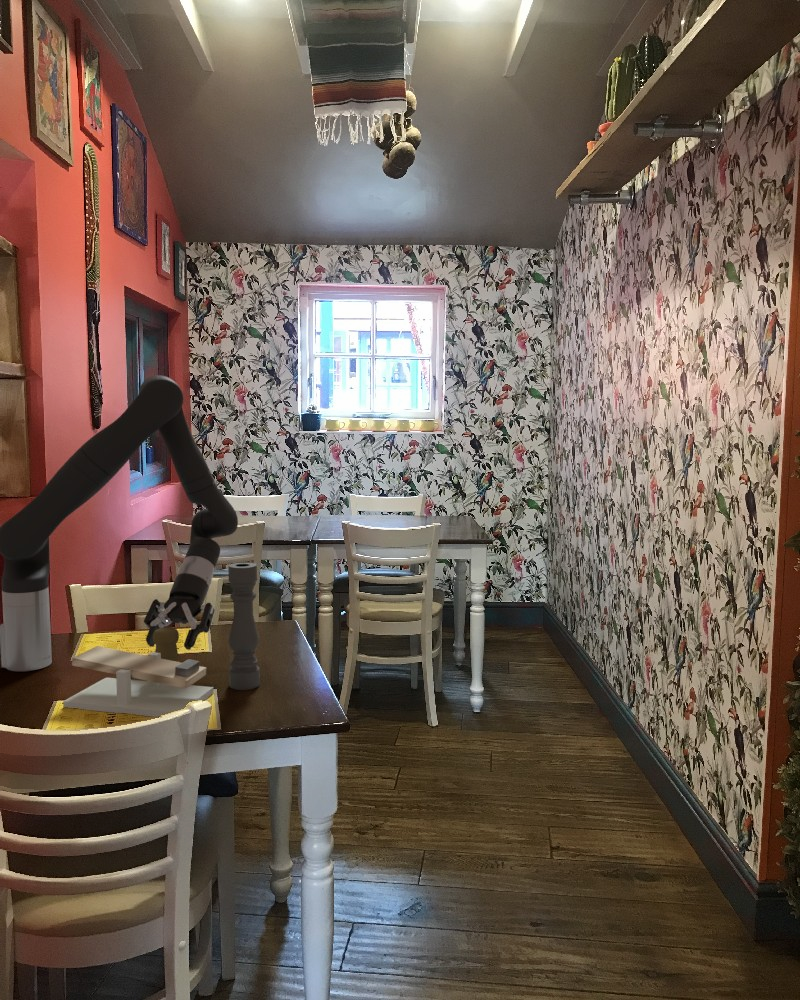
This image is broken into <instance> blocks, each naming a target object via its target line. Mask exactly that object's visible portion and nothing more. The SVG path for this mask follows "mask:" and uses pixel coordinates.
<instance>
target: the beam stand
mask: <svg viewBox="0 0 800 1000" xmlns="http://www.w3.org/2000/svg"><path fill="white" fill-rule="evenodd" d="M147 656H150V657H156V658H161V653H155V651H153V652H152V651H151V652H150V653H148V654H147ZM115 677H116V678H115ZM115 677H114V678H113V677H105V678H103V679H101V680H99V681H97V682H96V683H94V684H91V685H90V686H88V687H86V688H85V689H82V690H81V691H79V692H77V693H75V694H74V695H72V696H70V697H69V698H67V699H65V700H63V701H62V706H63V707H62V708H64V707H68V708H67V709H73V708H78V709H77V710H83V709H84V711H94V712H95V711H96V712H104V713H113V712H114V713H113V714H115V713H116V714H122V713H129V714H128V715H132V714H136V715H135V716H142V715H143V716H144V717H153V718H159V717H158V716H161V715H165V714H168V713H171V712H174V711H178V710H181V709H184V708H185V707H186V705H187V704H188V703H189V702H192V701H198V700H204V701H206V699H207V698H209V697H210V696H212V695H213V694H214V686H203V685H194V684H192V685H190V686H189V687H188V688H181V687H176V686H171V685H166V684H161V683H156V682H151V681H146V680H140V679H132V680H131V671H130V670H123V669H121V670H119V671H117V672H116V674H115ZM211 694H212V695H211Z"/></svg>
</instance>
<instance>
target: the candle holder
mask: <svg viewBox="0 0 800 1000" xmlns="http://www.w3.org/2000/svg"><path fill="white" fill-rule="evenodd" d="M227 568H228V569H227V570H228V582H229V585H230V587H231V589H232V593H230V595H229V598H230V599H231V600H232V602H233V618H232V622H231V627H230V633H229V636H228V646H229V647H230V649H231V650H232V651H233V652H232V654H233V655H234V656H233V658H232V659H231V660H230V663H229V665H230V668H229V670H228V683H229V684H228V685H229V688H231V689H232V690H237V691H248V690H253V689H256V688H258V687H259V686H260V683H261V682H260V681H261V680H260V679H261V678H260V677H261V676H260V675H261V673H260V671H261V670H260V667H259V666H258V665H259V660H258V659H257V657H256V655H254V654H255V653H256V649H257V648H258V646H259V643H260V637H259V633H258V628H257V625H256V621H255V617H254V600H255V599H256V598H257V593H256V592H255V591H254V588H255V586H256V582H257V581H258V565H257V563H255V562H254V563H253V562H235V563H231V564H229V565H228V567H227Z"/></svg>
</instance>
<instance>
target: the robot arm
mask: <svg viewBox="0 0 800 1000" xmlns="http://www.w3.org/2000/svg"><path fill="white" fill-rule="evenodd" d="M183 405H184V393H183V390H182V388H181V386H180V385H179V384H178V383H177V382H176V381H174V380H173V379H172V378H170V377H168V376H165V375H161V374H160V375H156V374H155V375H151V376H149V377H147V378H146V379H145V380H144V381H143V382H142V384H141V385H140V387H139V389H138V394H137V396H136V397H135V398H134V400H133V401H132V402H131V403H130V405H129V406H128V407H126V409H125V410H124V412H122V414H120V416H119V417H118V418H116V419H115V420H114V421H113V422H111V423H110V424H109V425H107V426H105V427H104V428H102V429H101V430H99V432H97V433H96V434H94V435H93V436H92V437H90V438H89V439H88V440H87V441H85V442H84V444H82V446H80V447H79V448H78V449H77V450H76V451H75V452H74V453H73V454H72V455H71V456H70V457H69V458H68V459H67V460H66V461H65V462H64V464H63V465H62V466H61V467H60V468H59V469H58V470H57V471H56V473H55V474H54V475H53V476H52V477H51V478H50V480H48V482H47V483H46V484H45V486H44V487H43V489H42V490H41V491H40V492H39V493H38V494H37V496H36V497H34V498H33V499H32V500H31V501H30V502H29V503H27V504H26V506H24V507H23V508H22V509H21V510H19V511H18V512H16V514H15V515H13V516H12V517H10V518H9V519H8V520H6V521H5V522H4V523H2V524H1V525H0V555H1V556H3V562H4V563H3V572H2V576H1V597H2V599H1V601H2V616H3V617H2V618H3V623H1V624H0V661H1V662H0V665H1V668H4V669H6V670H8V671H10V672H30V671H36V670H40V669H45V668H46V667H48V666H50V665H51V664H52V661H53V659H52V635H51V634H52V632H51V613H50V611H51V610H50V593H49V592H50V591H49V587H50V586H49V576H50V571H51V570H50V569H51V566H50V563H51V561H50V536H51V535H52V534H53V533H54V531H56V529H57V528H58V527H59V526H60V525H61V524H62V522H63V521H64V520H66V518H68V517H69V516H70V515H71V514H72V513H74V512H75V511H76V510H78V509H79V508H80V507H82V506H83V505H84V504H85V503H86V502H88V501H89V500H90V499H91V498H92V497H94V496H95V495H96V494H97V493H99V491H101V490H102V489H103V487H105V486H106V485H107V484H108V483H109V482H110V481H111V480H112V479H113V478H114V477H115V476H116V475H117V473H118V472H119V471H120V470H122V468H123V467H124V466H125V465H126V464H127V462H128V461H129V460H130V459H131V458H132V457H133V455H134V454H135V453H136V452H137V451H138V450H139V448H140V447H141V446H142V445H143V444H144V442H146V441H147V440H148V439H149V438H150V437H151V436H152V435H153V434H155V433H156V432H157V431H159V434H160V436H161V437H162V439H163V442H164V443H165V445H166V448H167V451H168V454H169V456H170V459H171V461H172V464H173V467H174V469H175V472H176V474H177V477H178V480H179V482H180V484H181V486H182V489H183V490H184V493H185V495H186V497H187V500H189V502H190V503H191V504H195V505H201V506H204V507H205V508H203V509H200V510H198V512H196V514H195V515H193V518H192V520H191V526H190V539H189V547H188V549H187V551H186V554H185V556H184V559H183V561H182V563H181V564H180V566H179V569H178V572H177V574H176V577H175V579H174V580H173V584H172V586H171V588H170V592H169V597H168V598H167V600H166V601H165V602H163V601H162V602H161V601H159V600H158V599H153V601H152V603H151V605H150V607H149V609H148V611H147V612H146V615H145V617H144V620H143V623H144V625H146V627H147V628H148V629H149V630H148V632H147V635H146V637H145V641H146V644H147V645H148V646H149V647H153V648H154V647H155V646H156V644H155V643H154V641H153V634H154V632H155V631H156V630H157V629H159V628H164V627H169V625H171V624H172V623H173V624H179V623H181V624H182V625H186V624H187V623H188V624H189V626H190V628H191V629H189V630H188V631H187V635H186V637H185V639H184V642H183V647H184V648H185V649H186V650H187V651H191V649H192V648H193V647H194V646H195V645H196V641H197V639H198V636H199V635H200V634H201V633H209V631H210V629H211V625H212V621H213V618H214V614H215V608H214V607H213V605H212V603H211V602H206V603H205V604H204V602H205V600H206V597H207V595H208V592H209V588H210V586H211V584H212V580H213V577H214V573H215V569H216V566H217V563H218V561H219V557H220V554H221V547H220V545H219V543H218V542H216V540H213V539H214V538H220V537H227V536H231V535H233V534H234V533H235V532H236V531H237V530H238V529H237V528H238V526H239V525H238V524H239V519H238V514H237V513H236V510H235V508H234V507H233V506H232V504H231V503H230V501H229V500H228V499H227V498H226V496H225V495H224V494H223V492H221V490H220V489H219V488H218V487H217V484H216V482H215V480H214V477H213V475H212V472H211V470H210V468H209V465H208V464H207V461H206V460H205V457H204V455H203V454H202V452H201V450H200V448H199V446H198V445H197V442H196V440H195V439H194V436H193V435H192V432H191V430H190V428H189V425H188V422H187V419H186V417H185V413H184V410H183ZM201 612H202V615H201V619H200V623H198V621H197V619H196V617H198V615H199V614H200V613H201ZM166 617H167V618H166Z"/></svg>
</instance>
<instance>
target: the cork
mask: <svg viewBox="0 0 800 1000" xmlns="http://www.w3.org/2000/svg"><path fill="white" fill-rule="evenodd" d="M179 637H180V635H179V631H178V629H176V627H171V626H164V627H163V628H159V629H157V630H156V631H155V632H154V634H153V641H154V643H155V649H154V650H155V651H154V652H155V653H161V659H166V660H171V661H176V662H180V659H179V652H178V645H177V643H178V641H179Z"/></svg>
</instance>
